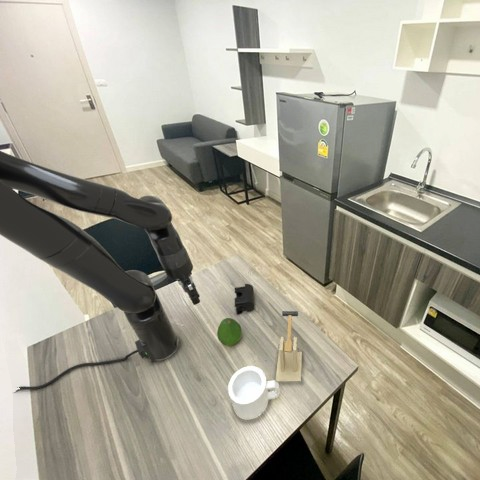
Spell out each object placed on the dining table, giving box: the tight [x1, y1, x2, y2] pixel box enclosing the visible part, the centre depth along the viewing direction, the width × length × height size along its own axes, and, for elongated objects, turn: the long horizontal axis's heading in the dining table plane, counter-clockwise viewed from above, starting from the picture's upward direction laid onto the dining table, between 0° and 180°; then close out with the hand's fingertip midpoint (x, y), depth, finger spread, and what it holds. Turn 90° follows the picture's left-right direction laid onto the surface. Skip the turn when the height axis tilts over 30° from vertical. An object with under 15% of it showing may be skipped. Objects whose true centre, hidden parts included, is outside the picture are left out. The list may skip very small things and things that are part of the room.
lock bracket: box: [274, 336, 303, 382], centre depth 83 cm, size 10×8×14 cm
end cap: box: [234, 283, 255, 315], centre depth 106 cm, size 10×7×7 cm
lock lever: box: [281, 310, 299, 352], centre depth 83 cm, size 12×5×2 cm, turn 2°
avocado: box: [216, 317, 243, 347], centre depth 91 cm, size 8×8×12 cm
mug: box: [227, 365, 281, 421], centre depth 76 cm, size 14×10×11 cm
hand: (192, 295), depth 88 cm, fingers open, 8 cm apart
